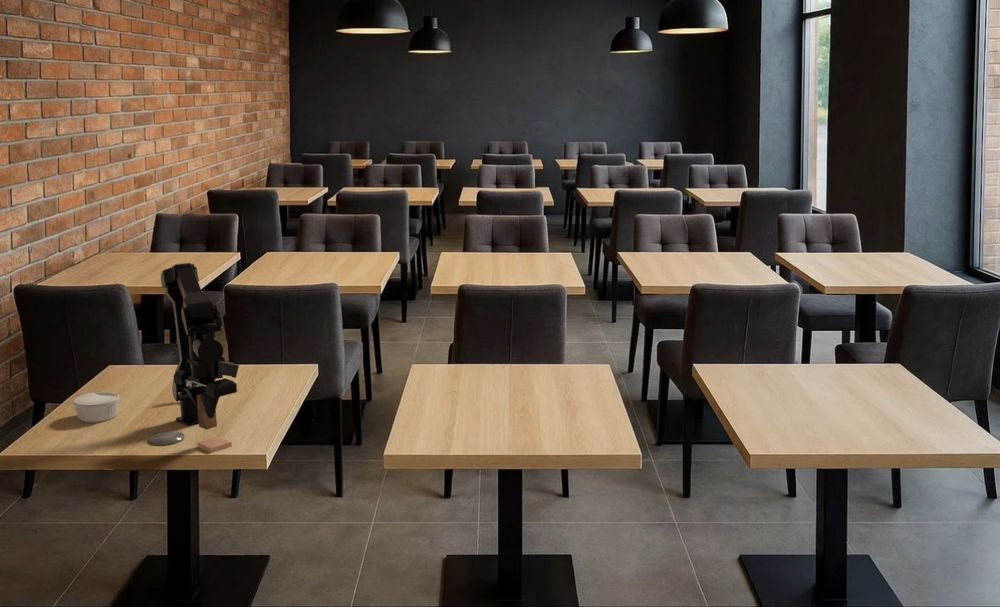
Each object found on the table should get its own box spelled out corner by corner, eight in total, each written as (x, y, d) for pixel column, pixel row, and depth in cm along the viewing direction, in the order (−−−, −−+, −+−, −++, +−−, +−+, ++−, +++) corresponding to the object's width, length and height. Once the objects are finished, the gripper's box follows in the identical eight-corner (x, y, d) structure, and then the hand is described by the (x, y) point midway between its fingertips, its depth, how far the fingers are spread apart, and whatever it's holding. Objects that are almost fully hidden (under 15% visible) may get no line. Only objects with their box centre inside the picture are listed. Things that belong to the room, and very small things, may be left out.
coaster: (143, 439, 253) (143, 437, 253) (173, 431, 258) (173, 429, 258) (160, 447, 247) (160, 445, 247) (190, 438, 253) (190, 436, 253)
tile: (197, 442, 248) (210, 448, 244) (217, 436, 252) (231, 441, 248) (197, 448, 248) (211, 454, 244) (218, 442, 252) (231, 448, 248)
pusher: (199, 426, 248) (196, 394, 246) (210, 423, 250) (207, 391, 249) (205, 429, 246) (203, 397, 244) (217, 426, 248) (214, 394, 247)
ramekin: (128, 410, 275) (127, 391, 274) (109, 425, 264) (107, 405, 263) (88, 409, 276) (86, 390, 275) (67, 423, 265) (65, 404, 264)
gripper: (254, 353, 244) (258, 416, 247) (210, 340, 256) (215, 400, 260) (212, 363, 236) (217, 428, 239) (170, 349, 248) (175, 411, 252)
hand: (207, 416), depth 248 cm, fingers closed on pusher, 3 cm apart
